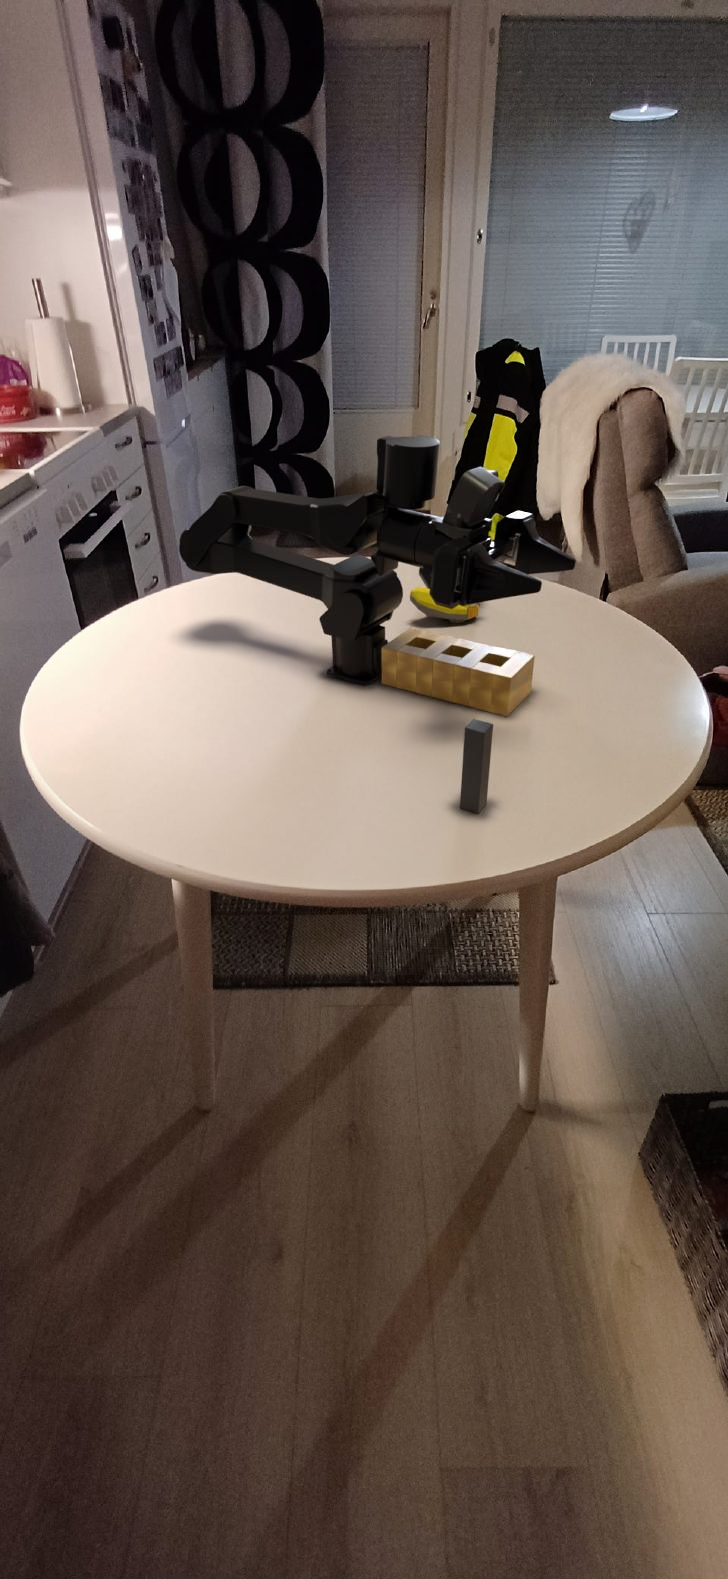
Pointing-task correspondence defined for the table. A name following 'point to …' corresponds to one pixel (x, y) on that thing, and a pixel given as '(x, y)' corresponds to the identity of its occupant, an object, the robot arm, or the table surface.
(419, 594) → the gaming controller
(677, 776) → the table surface
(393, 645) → the holder
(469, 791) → the peg
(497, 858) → the table surface
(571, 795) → the table surface
